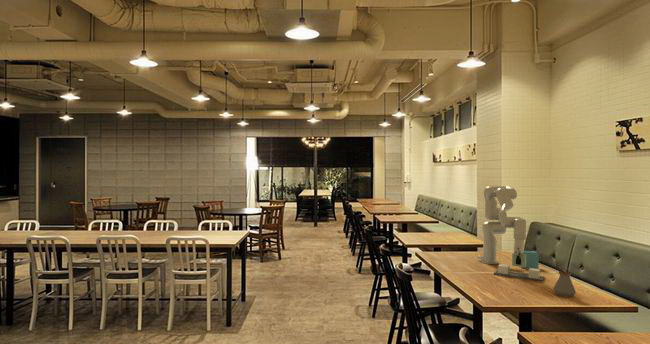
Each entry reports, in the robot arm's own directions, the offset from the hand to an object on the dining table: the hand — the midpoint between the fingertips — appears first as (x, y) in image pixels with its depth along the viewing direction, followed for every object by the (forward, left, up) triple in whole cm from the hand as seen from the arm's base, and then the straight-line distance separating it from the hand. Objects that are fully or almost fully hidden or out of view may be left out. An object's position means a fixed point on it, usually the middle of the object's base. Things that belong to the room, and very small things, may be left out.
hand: (519, 263), depth 293 cm
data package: (+1, +33, -9) cm, 34 cm away
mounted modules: (0, 0, -8) cm, 8 cm away
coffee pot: (+28, -25, -9) cm, 39 cm away
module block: (0, 0, -2) cm, 2 cm away
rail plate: (0, 0, -9) cm, 9 cm away
